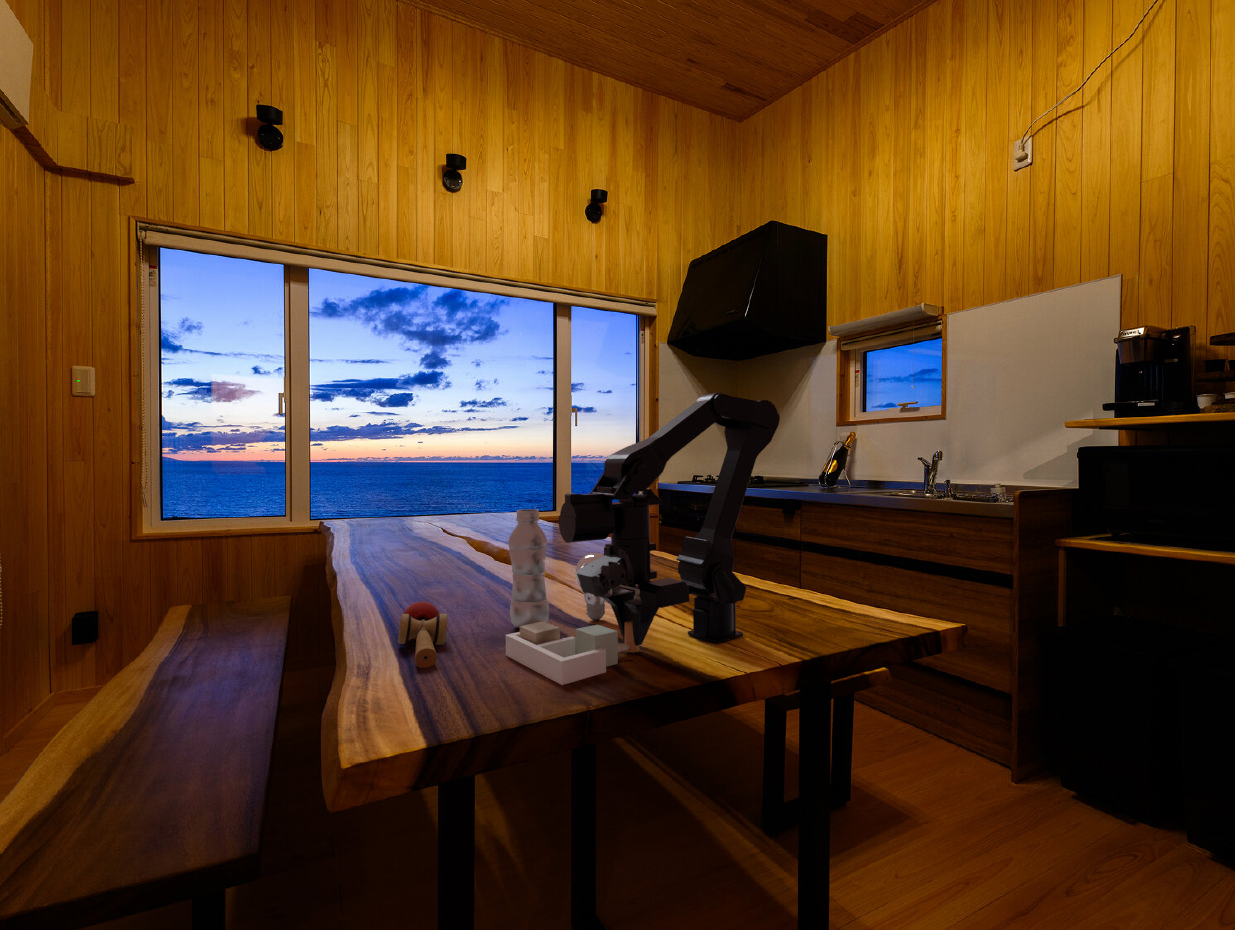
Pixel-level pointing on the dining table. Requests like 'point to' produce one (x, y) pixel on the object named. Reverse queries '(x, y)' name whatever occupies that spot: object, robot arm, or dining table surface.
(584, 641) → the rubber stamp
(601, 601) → the light bulb
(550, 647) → the lane rack
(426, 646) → the kendama
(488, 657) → the dining table surface
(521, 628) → the ash block
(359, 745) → the dining table surface
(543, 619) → the plastic bottle
